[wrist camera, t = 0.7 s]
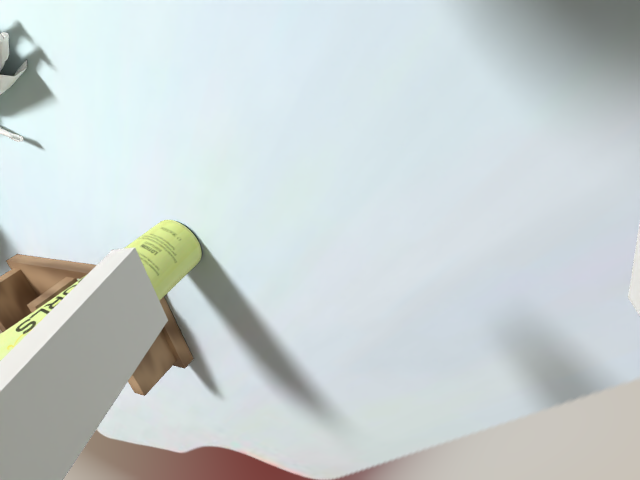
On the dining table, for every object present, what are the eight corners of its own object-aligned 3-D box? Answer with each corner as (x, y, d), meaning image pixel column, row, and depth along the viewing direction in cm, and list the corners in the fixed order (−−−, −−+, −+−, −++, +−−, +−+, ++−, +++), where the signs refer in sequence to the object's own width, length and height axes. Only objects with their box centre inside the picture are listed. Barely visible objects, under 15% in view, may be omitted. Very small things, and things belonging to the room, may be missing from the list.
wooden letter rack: (16, 254, 58) (-35, 285, 54) (152, 272, 47) (102, 314, 42) (62, 326, 64) (20, 360, 60) (193, 358, 53) (153, 404, 48)
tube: (189, 212, 39) (-42, 390, 25) (218, 261, 41) (18, 452, 27) (149, 222, 43) (-76, 383, 28) (177, 267, 45) (-21, 440, 30)
